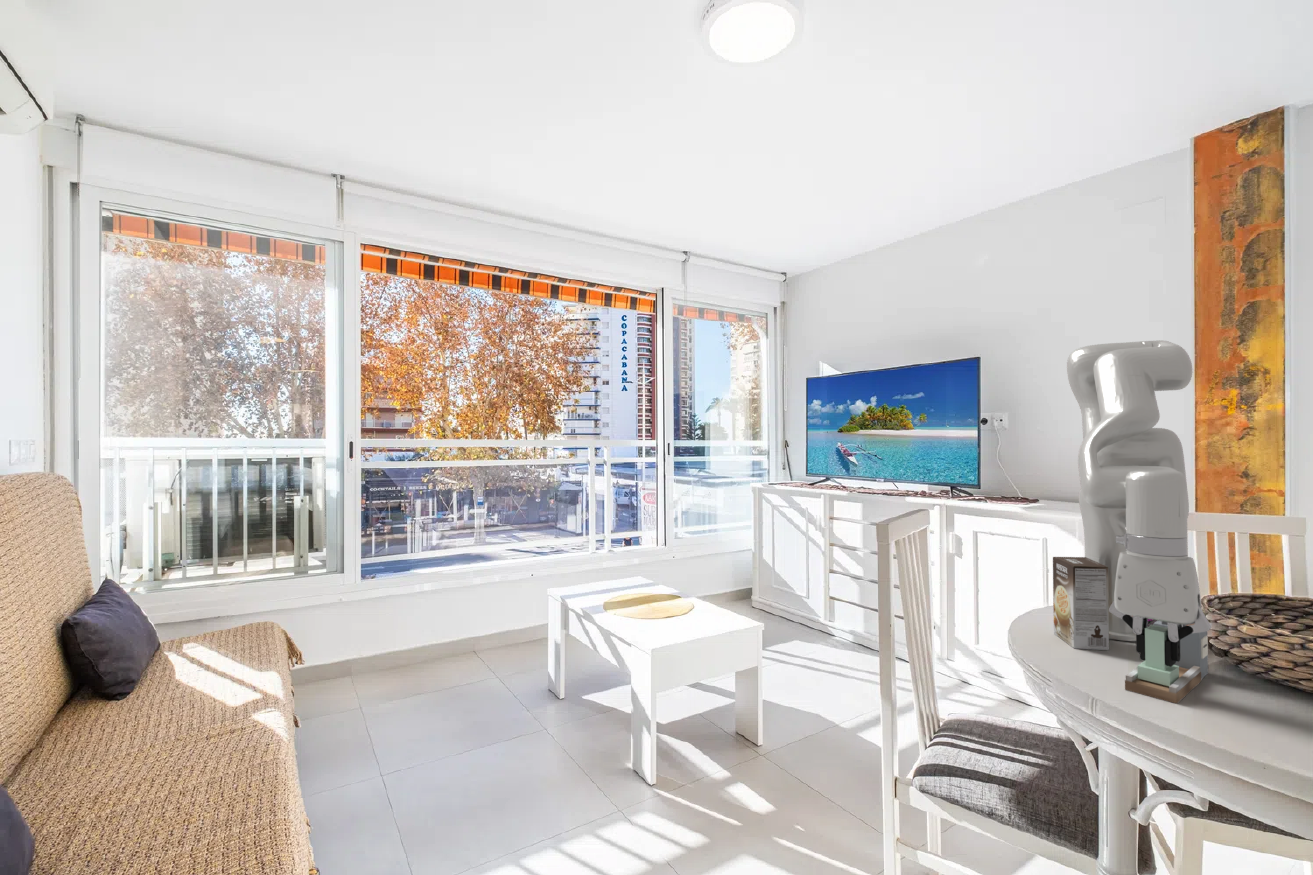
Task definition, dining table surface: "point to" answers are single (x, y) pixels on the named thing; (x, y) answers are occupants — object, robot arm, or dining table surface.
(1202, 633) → the grey upright housing
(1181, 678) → the rail track
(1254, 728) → the dining table surface
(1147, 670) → the carriage
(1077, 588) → the coffee box
